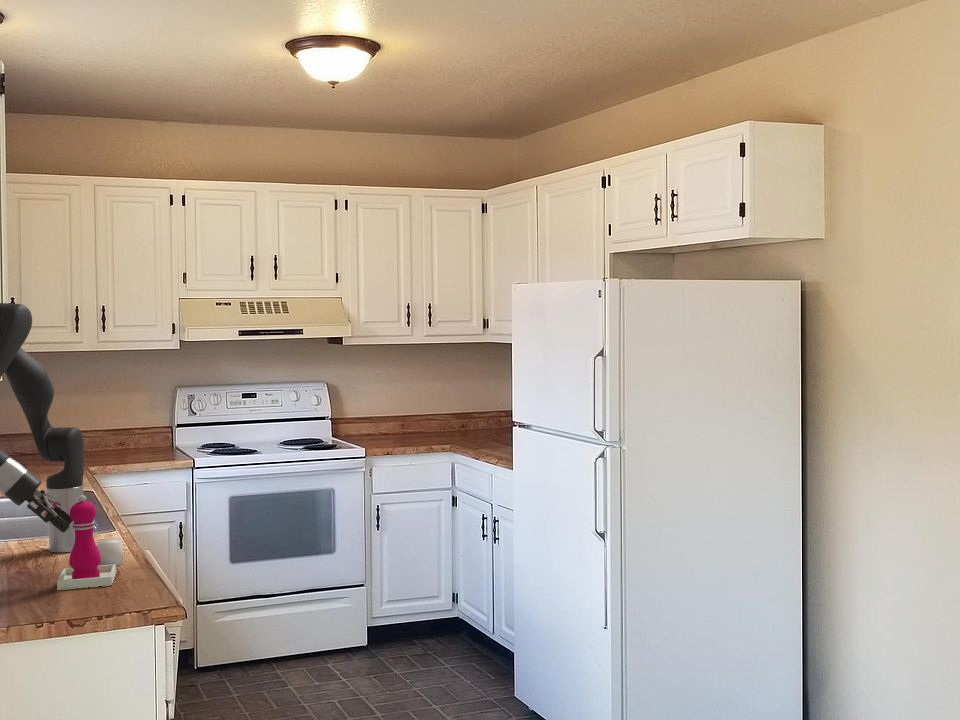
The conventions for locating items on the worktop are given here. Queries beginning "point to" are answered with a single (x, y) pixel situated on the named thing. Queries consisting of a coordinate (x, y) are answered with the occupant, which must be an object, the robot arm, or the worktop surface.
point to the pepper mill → (84, 541)
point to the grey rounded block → (110, 551)
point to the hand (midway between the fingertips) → (69, 526)
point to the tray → (104, 580)
